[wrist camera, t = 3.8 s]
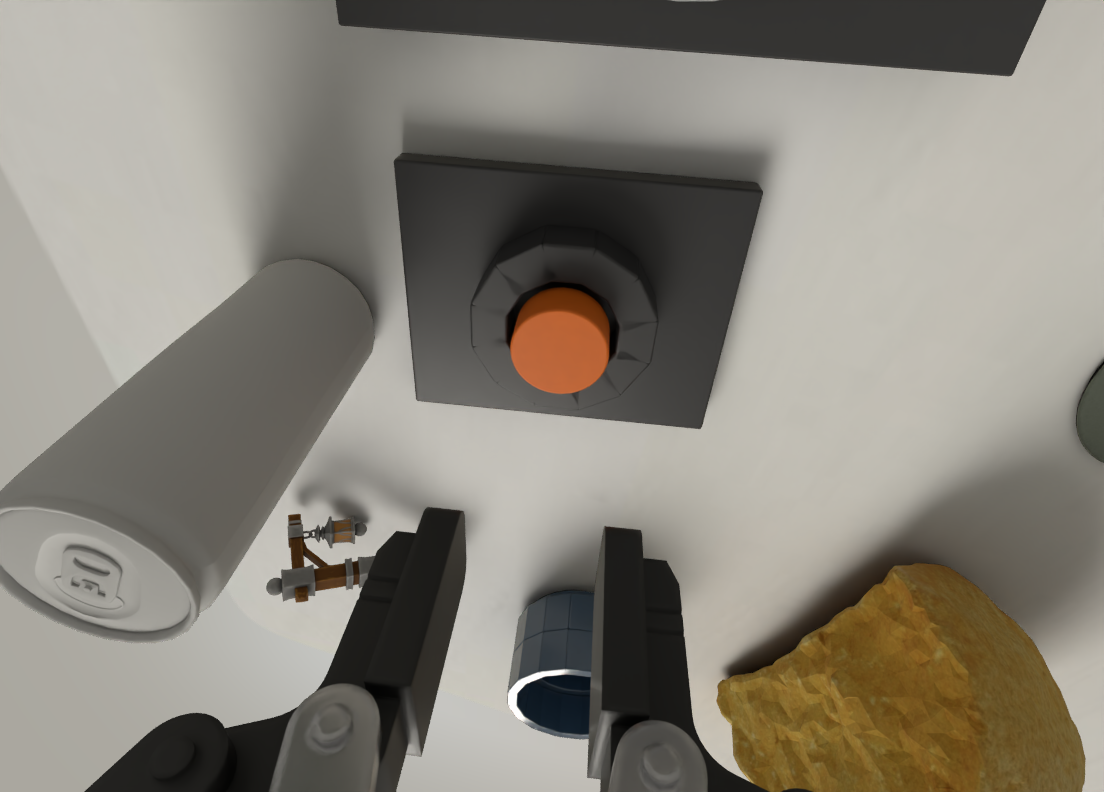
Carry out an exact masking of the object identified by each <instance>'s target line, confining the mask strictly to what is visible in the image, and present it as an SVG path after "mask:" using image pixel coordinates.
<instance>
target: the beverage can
mask: <svg viewBox="0 0 1104 792" xmlns="http://www.w3.org/2000/svg"><path fill="white" fill-rule="evenodd" d="M374 338H375V335H374V324H373V319H372V316H371V313H370V309H369V306H368V304H367V303H366V301H365V299H364V298H363V296H362V294H361V292H360V291H359V290H358V289H357V288H356V287H355V286H354V285H353V284H352V283H351V282H350V281H349V280H348V279H347V278H346V277H344V276H343V275H341V274H340V273H338V272H337V271H335V270H334V269H332V268H330V267H328V266H325V265H322V264H320V263H317V262H315V261H309V260H302V259H291V260H283V261H278V262H276V263H274V264H271V265H269V266H267V267H265V268H263V269H262V270H261V271H260V272H258V273H257V274H256V275H255V276H253V277H252V278H251V279H250V280H249V281H247V282H246V283H245V284H244V285H243V286H242V287H241V288H239V289H238V290H237V291H236V292H235V293H234V294H232V295H231V296H230V297H229V298H228V299H226V300H225V301H224V302H223V303H222V304H221V305H219V306H218V307H217V308H216V309H214V310H213V311H212V312H211V313H209V314H208V315H207V316H206V317H204V318H203V319H202V320H201V321H199V322H198V323H197V324H196V325H194V326H193V327H192V328H191V329H189V330H188V331H187V332H186V333H184V334H183V335H182V336H181V337H179V338H178V339H177V340H176V341H174V342H173V343H172V344H171V345H170V346H168V347H167V348H166V349H165V350H164V351H162V352H161V353H160V354H159V355H158V356H156V357H155V358H154V359H153V360H152V361H150V362H149V363H148V364H147V365H146V366H144V367H143V368H142V369H141V370H140V371H139V372H137V373H136V374H135V375H134V376H133V377H131V378H130V379H129V380H128V381H127V382H126V383H124V384H123V385H122V386H121V387H120V388H118V389H117V390H116V391H115V392H114V393H113V394H112V395H110V396H109V397H108V398H107V399H106V400H104V401H103V402H102V403H101V404H100V405H99V406H97V407H96V408H95V409H94V410H93V411H92V412H90V413H89V414H88V415H87V416H86V417H85V418H83V419H82V420H81V421H80V422H79V423H77V424H76V425H75V426H74V427H73V428H72V429H71V430H69V431H68V432H67V433H66V434H65V435H63V436H62V437H61V438H60V439H59V440H58V441H56V442H55V443H54V444H53V445H52V446H51V447H49V448H48V449H47V450H46V451H45V452H44V453H42V454H41V455H40V456H39V457H38V458H36V459H35V460H34V461H33V462H32V463H31V464H29V465H28V466H27V467H26V468H25V469H24V470H22V471H21V472H20V473H19V474H18V475H17V476H16V477H14V478H13V479H12V480H11V482H9V483H8V484H7V485H6V486H5V487H4V488H3V489H2V490H1V491H0V587H1V588H2V589H3V590H4V591H5V592H7V593H8V594H10V595H11V596H12V597H14V598H15V599H17V600H18V601H19V602H21V603H22V604H24V605H25V606H26V607H28V608H30V609H32V610H33V611H35V612H37V613H39V614H41V615H43V616H45V617H46V618H49V619H50V620H52V621H54V622H57V623H59V624H62V625H64V626H66V627H69V628H71V629H74V630H76V631H79V632H82V633H86V634H89V635H93V636H96V637H100V638H103V639H108V640H114V641H121V642H127V643H157V642H163V641H168V640H173V639H175V638H177V637H178V636H180V635H182V634H184V633H186V632H187V631H188V630H189V629H190V628H191V626H192V625H193V624H194V622H195V621H196V620H197V618H198V616H199V613H201V612H202V611H204V610H206V609H207V608H209V607H210V606H211V605H212V604H213V602H214V601H215V600H216V598H217V597H218V595H219V594H220V593H221V591H222V590H223V589H224V587H225V586H226V584H227V582H228V581H229V579H230V578H231V576H232V574H233V573H234V571H235V570H236V568H237V566H238V565H239V563H240V562H241V560H242V559H243V557H244V555H245V554H246V552H247V551H248V549H249V547H250V546H251V544H252V543H253V541H254V539H255V538H256V536H257V535H258V533H259V531H260V530H261V528H262V527H263V525H264V523H265V522H266V520H267V519H268V517H269V515H270V514H271V512H272V511H273V509H274V507H275V506H276V504H277V503H278V501H279V499H280V498H281V496H282V495H283V493H284V491H285V490H286V488H287V487H288V485H289V483H290V482H291V480H292V479H293V477H294V475H295V474H296V472H297V470H298V469H299V467H300V466H301V464H302V462H303V461H304V459H305V458H306V456H307V454H308V453H309V451H310V450H311V448H312V446H313V445H314V443H315V442H316V440H317V438H318V437H319V435H320V434H321V432H322V430H323V429H324V427H325V426H326V424H327V422H328V421H329V419H330V418H331V416H332V415H333V413H334V411H335V410H336V408H337V407H338V405H339V403H340V402H341V400H342V399H343V397H344V395H345V394H346V392H347V391H348V389H349V388H350V386H351V384H352V383H353V381H354V380H355V378H356V376H357V375H358V373H359V372H360V370H361V369H362V367H363V365H364V364H365V362H366V361H367V359H368V357H369V356H370V354H371V353H372V349H373V344H374Z"/></svg>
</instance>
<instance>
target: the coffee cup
mask: <svg viewBox="0 0 1104 792" xmlns="http://www.w3.org/2000/svg"><path fill="white" fill-rule="evenodd" d="M1076 426H1077V432H1078V436H1079V438H1080V440H1081V442H1082V444H1083V446H1084V447H1085V449H1086V450H1087V451H1088V452H1089V453H1090V454H1091V455H1092V456H1094V457H1095V458H1096V459H1098V460H1099V461H1101V462H1103V463H1104V362H1103V363H1102V364H1101V365H1100V367H1099V368H1098V369H1097V370H1096V372H1095V373H1094V375H1093V376H1092V378H1091V379H1090V381H1089V383H1088V385H1087V387H1086V389H1085V391H1084V392H1083V395H1082V397H1081V399H1080V402H1079V405H1078V409H1077V416H1076Z"/></svg>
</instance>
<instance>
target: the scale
mask: <svg viewBox="0 0 1104 792" xmlns="http://www.w3.org/2000/svg"><path fill="white" fill-rule="evenodd" d="M1045 2H1046V0H336V5H337V13H338V21H339V24H340V25H341V26H354V27H367V28H380V29H393V30H406V31H420V32H433V33H446V34H459V35H472V36H485V37H499V38H512V39H525V40H538V41H551V42H564V43H578V44H591V45H604V46H617V47H630V48H643V49H657V50H670V51H683V52H696V53H709V54H723V55H736V56H749V57H762V58H775V59H788V60H802V61H815V62H828V63H841V64H854V65H867V66H881V67H894V68H907V69H920V70H933V71H947V72H960V73H973V74H986V75H999V76H1011V75H1012V74H1013V73H1014V70H1015V68H1016V66H1017V64H1018V62H1019V59H1020V57H1021V55H1022V53H1023V51H1024V48H1025V46H1026V44H1027V42H1028V40H1029V37H1030V35H1031V33H1032V31H1033V28H1034V26H1035V24H1036V22H1037V20H1038V17H1039V15H1040V13H1041V11H1042V9H1043V6H1044V4H1045Z"/></svg>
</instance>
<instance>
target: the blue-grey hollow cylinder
mask: <svg viewBox="0 0 1104 792" xmlns="http://www.w3.org/2000/svg"><path fill="white" fill-rule="evenodd" d="M593 610H594V593H593V592H588V591H578V590H569V591H561V592H555V593H552V594H549V595H547V596H544V597H542V598H541V599H539V600H538V601H536V602H534V603H532V604H530V605H529V606H528V607H527V608H526V610H525V611H524V612H523V613H522V615H521V616H520V617H519V619H518V626H517V632H516V639H515V646H514V653H513V659H512V666H511V672H510V679H509V685H508V696H507V705H508V707H509V708H510V709H511V711H512V712H513V713H514V715H515V716H516V718H517V719H519V720H520V721H522V722H523V723H525V724H527V725H528V726H530V727H531V728H533V729H535V730H538V731H541V732H545V733H548V734H551V735H554V736H558V737H565V738H574V739H589V718H590V691H591V664H592V637H593Z"/></svg>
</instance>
